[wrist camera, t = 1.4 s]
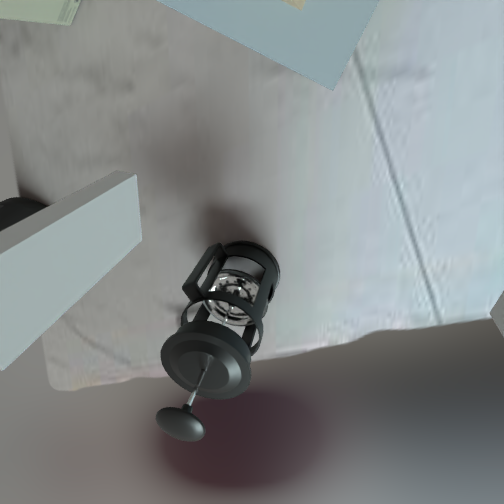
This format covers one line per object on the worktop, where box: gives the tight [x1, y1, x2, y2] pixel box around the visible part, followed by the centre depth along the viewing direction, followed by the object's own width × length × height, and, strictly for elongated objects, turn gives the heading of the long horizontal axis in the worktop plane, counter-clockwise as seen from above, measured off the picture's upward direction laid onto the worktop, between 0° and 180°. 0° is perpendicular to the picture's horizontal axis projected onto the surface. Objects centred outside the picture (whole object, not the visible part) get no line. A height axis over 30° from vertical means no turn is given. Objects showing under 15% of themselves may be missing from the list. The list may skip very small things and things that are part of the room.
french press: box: [156, 241, 280, 441], centre depth 36 cm, size 12×9×23 cm
